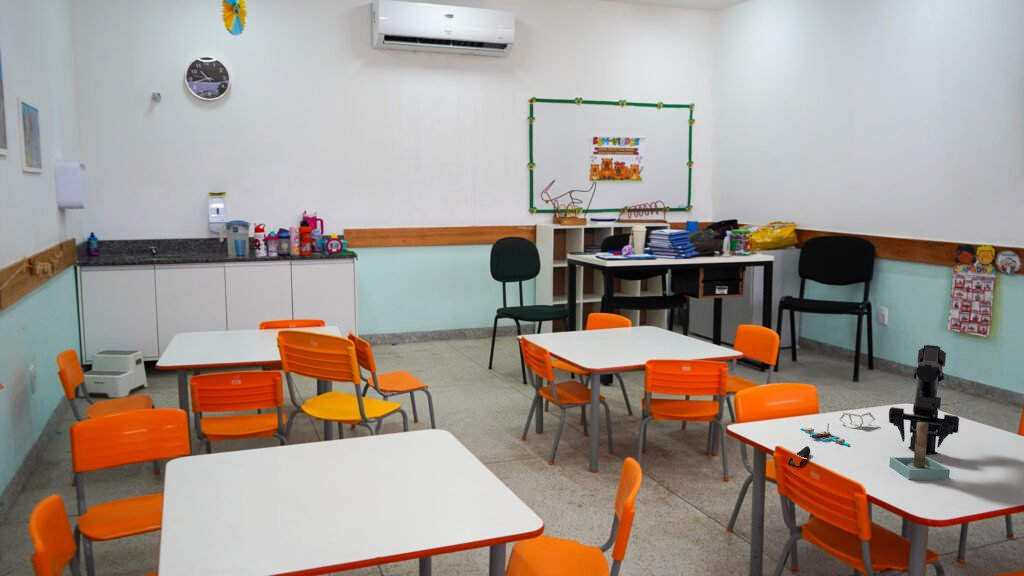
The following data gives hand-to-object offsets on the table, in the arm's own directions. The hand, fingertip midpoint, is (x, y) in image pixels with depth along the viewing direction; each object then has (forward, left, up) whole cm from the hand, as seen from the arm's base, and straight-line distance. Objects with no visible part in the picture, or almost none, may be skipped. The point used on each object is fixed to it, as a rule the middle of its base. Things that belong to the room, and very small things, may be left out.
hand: (920, 443), depth 225 cm
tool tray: (-1, -1, -9) cm, 9 cm away
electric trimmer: (+31, -13, -10) cm, 35 cm away
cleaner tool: (-1, -1, -9) cm, 9 cm away
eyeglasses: (-7, -49, -10) cm, 50 cm away
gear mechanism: (+13, -34, -10) cm, 38 cm away
